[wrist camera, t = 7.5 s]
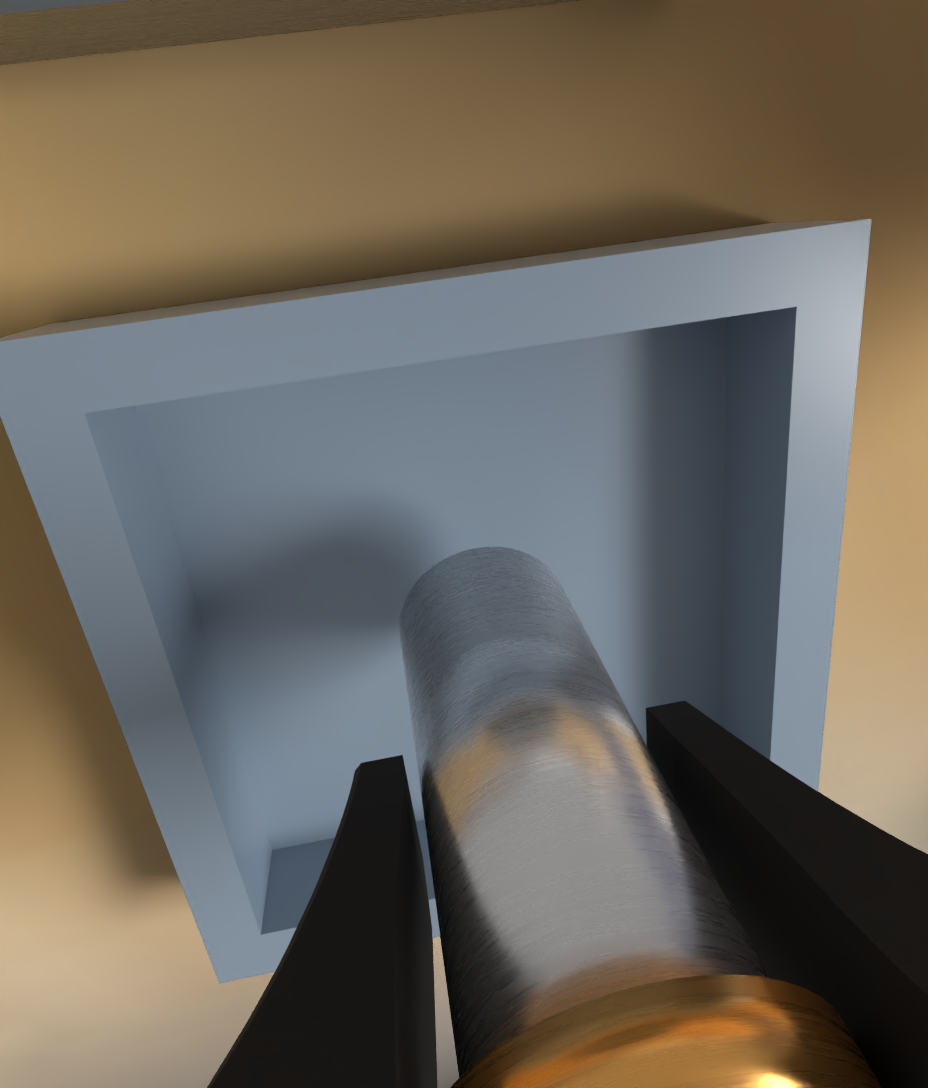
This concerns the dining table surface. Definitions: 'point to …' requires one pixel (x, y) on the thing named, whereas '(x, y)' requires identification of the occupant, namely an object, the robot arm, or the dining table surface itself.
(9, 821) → the dining table surface
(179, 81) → the dining table surface
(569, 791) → the pin
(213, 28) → the grey square frame
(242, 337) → the tray
